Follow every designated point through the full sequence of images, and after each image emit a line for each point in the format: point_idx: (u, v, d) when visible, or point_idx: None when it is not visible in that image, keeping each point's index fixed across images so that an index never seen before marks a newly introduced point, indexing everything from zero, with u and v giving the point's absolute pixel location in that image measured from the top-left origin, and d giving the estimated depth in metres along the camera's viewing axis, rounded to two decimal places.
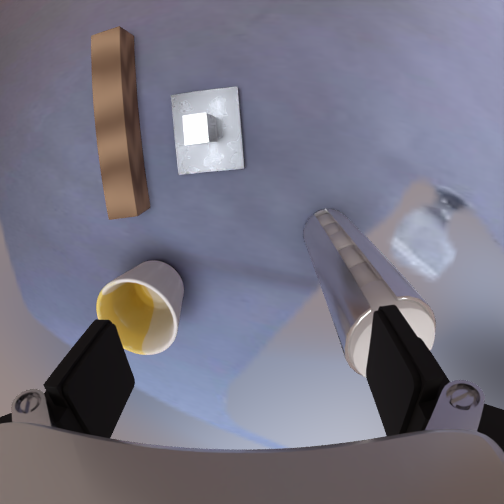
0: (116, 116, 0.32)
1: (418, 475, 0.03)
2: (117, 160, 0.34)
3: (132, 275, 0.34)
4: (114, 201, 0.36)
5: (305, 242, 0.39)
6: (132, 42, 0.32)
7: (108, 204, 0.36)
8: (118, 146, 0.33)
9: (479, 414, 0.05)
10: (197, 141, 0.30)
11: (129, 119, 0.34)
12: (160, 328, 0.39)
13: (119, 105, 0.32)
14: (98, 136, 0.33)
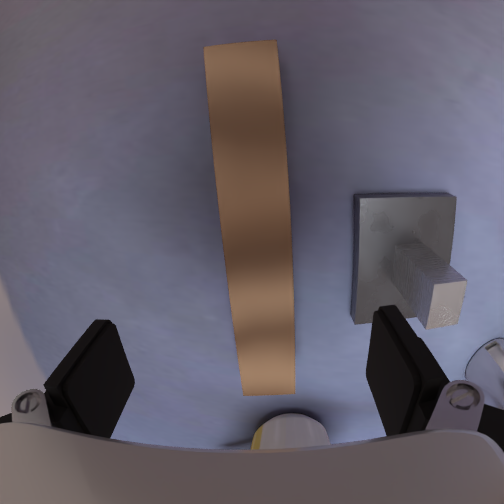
0: (275, 244, 0.19)
1: (418, 475, 0.03)
2: (270, 321, 0.21)
3: None
4: (258, 375, 0.22)
5: (474, 382, 0.26)
6: None
7: (245, 378, 0.22)
8: (274, 298, 0.20)
9: (479, 414, 0.05)
10: (443, 324, 0.16)
11: None
12: None
13: (283, 224, 0.18)
14: (231, 276, 0.20)
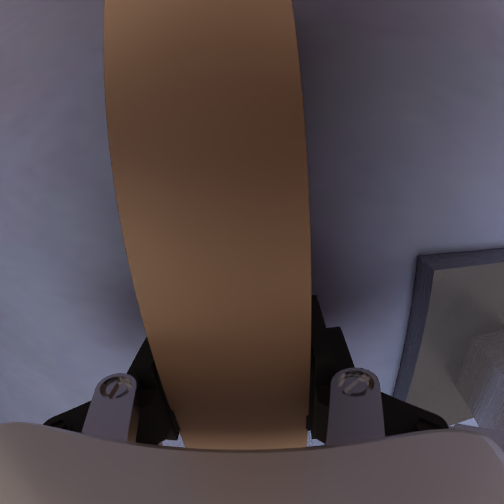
0: (274, 401, 0.08)
1: (418, 475, 0.03)
2: None
3: None
4: None
5: None
6: None
7: None
8: None
9: (378, 396, 0.06)
10: None
11: None
12: None
13: (292, 369, 0.08)
14: (190, 439, 0.09)
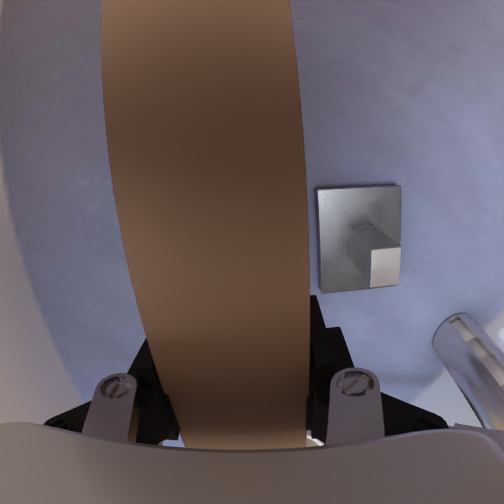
0: (273, 402, 0.08)
1: (418, 475, 0.03)
2: None
3: None
4: None
5: (439, 352, 0.32)
6: None
7: None
8: None
9: (378, 396, 0.06)
10: (385, 283, 0.23)
11: None
12: None
13: (291, 369, 0.08)
14: (190, 439, 0.09)
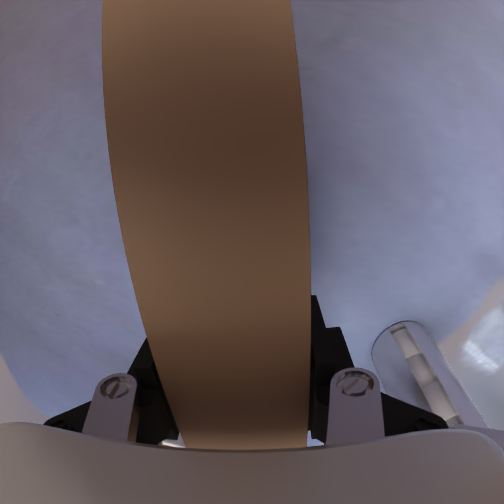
0: (274, 402, 0.08)
1: (418, 475, 0.03)
2: None
3: None
4: None
5: (377, 367, 0.28)
6: None
7: None
8: None
9: (378, 395, 0.06)
10: None
11: None
12: None
13: (292, 370, 0.08)
14: (190, 440, 0.09)
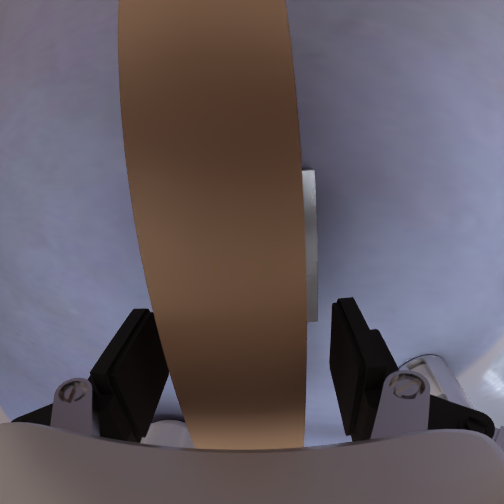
0: (273, 382, 0.09)
1: (418, 475, 0.03)
2: None
3: None
4: None
5: None
6: None
7: None
8: None
9: (427, 401, 0.06)
10: None
11: None
12: None
13: (290, 349, 0.08)
14: (193, 422, 0.10)
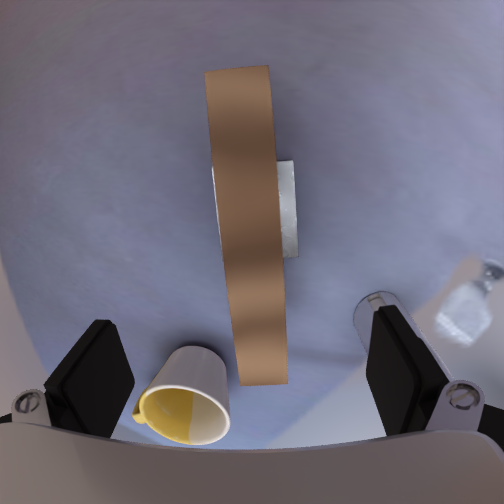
0: (267, 246, 0.21)
1: (418, 475, 0.03)
2: (264, 315, 0.23)
3: (179, 378, 0.31)
4: (253, 366, 0.25)
5: (357, 329, 0.36)
6: None
7: (242, 369, 0.25)
8: (267, 294, 0.22)
9: (479, 414, 0.05)
10: None
11: None
12: (205, 414, 0.36)
13: (274, 228, 0.21)
14: (229, 274, 0.22)
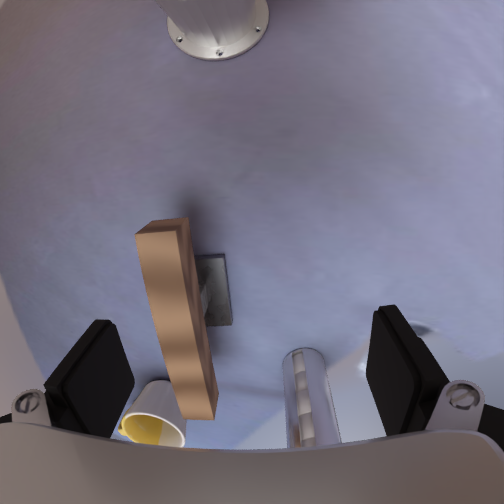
0: (187, 343, 0.31)
1: (418, 475, 0.03)
2: (191, 380, 0.33)
3: (147, 408, 0.41)
4: (189, 408, 0.35)
5: None
6: (188, 230, 0.32)
7: (182, 409, 0.35)
8: (191, 369, 0.33)
9: (479, 414, 0.05)
10: None
11: (199, 339, 0.33)
12: (171, 431, 0.46)
13: (189, 333, 0.31)
14: (165, 357, 0.32)
